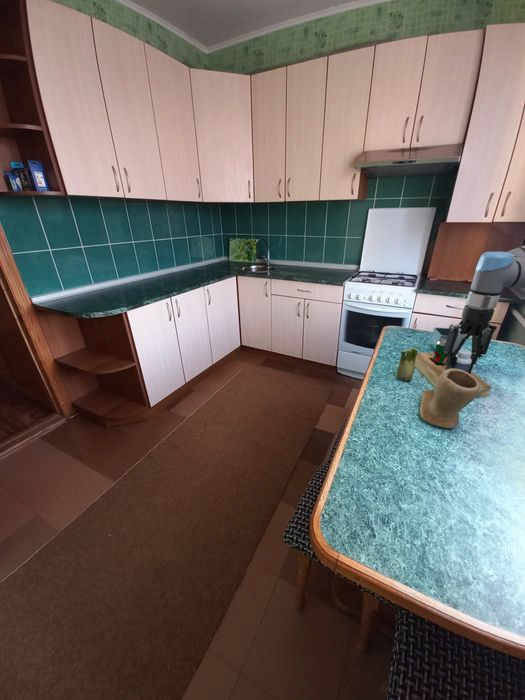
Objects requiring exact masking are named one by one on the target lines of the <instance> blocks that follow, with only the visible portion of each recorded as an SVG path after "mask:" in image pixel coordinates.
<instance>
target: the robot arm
mask: <svg viewBox="0 0 525 700" xmlns="http://www.w3.org/2000/svg"><path fill="white" fill-rule="evenodd" d="M471 281H472V282H471V285H470V288H469V291H468V294H467V297H466V301H465V304H464V308H463V309H462V313H461V320H460V321H459V322H458V324H455V325H454V324H450V325H448V328H449V334H448V337H447V340H446V343H445V346H444V349H443V352H444V353H445V354H446V355H448V357H447V361H446V364H447V366H446V369H445V370H447V369H454V368H455V365H456V362H457V359H458V358H457V357H456V355H457V353H458V352H459V350H460V349H462V348H463V346H464V344H465V343H466V341H467V340H469V338H470V337H471V352H472V354H471V357H470V358H471V360H472V362H471V365H470V368H469V371H468V373H469V374H471V371H472V372H473V368H474V365H476V364H477V361H478V358H479V359H481V358H482V357H483V356H485V355H486V354H487V352H488V350H489V347H490V344H491V341H492V338H493V336H494V333H495V332H496V330H497V329H498V327H497V326H496V325H494V324H492V323H490V322H491V321H492V319H493V316H494V313H495V309H496V308H497V305H498V303H499V300H500V297H501V294H502V292H503V290H504V288H505V289H508V288H509V289H525V244H524V245H522V246H519V247H517V248H513V249H510V250H508V251H486V252H484V253H482V254H481V255H480V257H479V259H478V262H477V264H476V266H475V271H474V274H473V278H472V280H471ZM458 332H459V333H458ZM457 336H458V337H457Z"/></svg>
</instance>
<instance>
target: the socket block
mask: <svg viewBox="0 0 525 700" xmlns="http://www.w3.org/2000/svg"><path fill="white" fill-rule="evenodd" d="M433 354H434V352H418V353H417V356H416V359H415V369H416V370H417V371H418V372H420V374H421V375H422V376H423V377H424V378H425V379H426V380H427V381H428V382H429V383H430V384H431V385H432V386H433V387H434V388H435V386H436V383H437V381H438V379H439V377H440V375H441V374H442V372H443V371H445V369H446V366H447V365H436V364H434V363H433V362H432V358H433ZM471 375H472V376H473V377H475V378H476V379H477V381H478V382H479V384H480V390H479V392H478V394H477V395H476V397H475V398H479V397H480V398H481V397H483V398H484V397H488V396H489V393H490V392H491V390H492V389H491V388H492V385H490V383H488V382H487V381H486V380H484V379H483V378H482V377H480V376H479V375H478V374H476V373H475V372H474V371H473V370H472V371H471Z"/></svg>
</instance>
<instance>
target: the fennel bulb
mask: <svg viewBox="0 0 525 700" xmlns="http://www.w3.org/2000/svg"><path fill="white" fill-rule="evenodd" d="M417 353H419V349H417V348H412V347H410V348H409V349H407V351H406V350H405V349H402V350H401V353H400V359H399V362H398V366H397V369H396V378H397V379H398V380H400V381H403V382H410V381H412V380H413V377H414V374H415V369H416V367H415V359H416V356H417Z"/></svg>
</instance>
